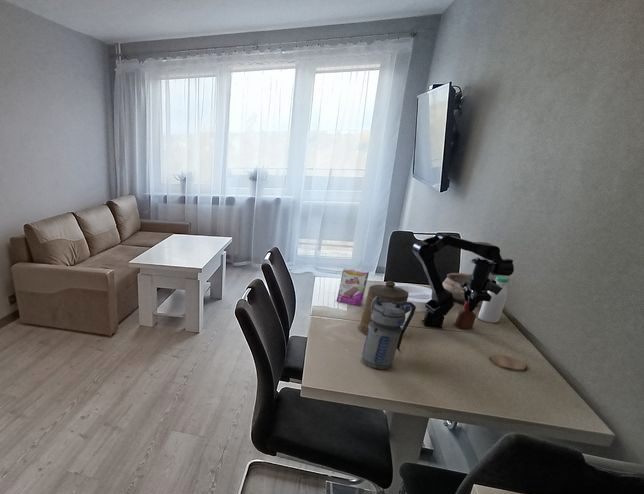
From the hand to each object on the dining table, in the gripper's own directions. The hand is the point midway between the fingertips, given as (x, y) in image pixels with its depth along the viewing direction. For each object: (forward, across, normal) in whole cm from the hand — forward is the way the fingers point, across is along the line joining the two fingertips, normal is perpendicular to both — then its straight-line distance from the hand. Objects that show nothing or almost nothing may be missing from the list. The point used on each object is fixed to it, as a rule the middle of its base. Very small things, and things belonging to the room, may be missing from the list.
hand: (469, 309), depth 176 cm
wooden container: (+8, -19, +36) cm, 41 cm away
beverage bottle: (+8, -49, +39) cm, 63 cm away
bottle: (+8, 0, 0) cm, 8 cm away
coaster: (+8, -32, -6) cm, 33 cm away
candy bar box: (+8, +12, +46) cm, 48 cm away
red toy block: (0, 0, 0) cm, 0 cm away
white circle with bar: (+8, +26, +17) cm, 32 cm away
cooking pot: (+8, +35, -8) cm, 37 cm away
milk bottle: (+8, +13, -13) cm, 20 cm away
